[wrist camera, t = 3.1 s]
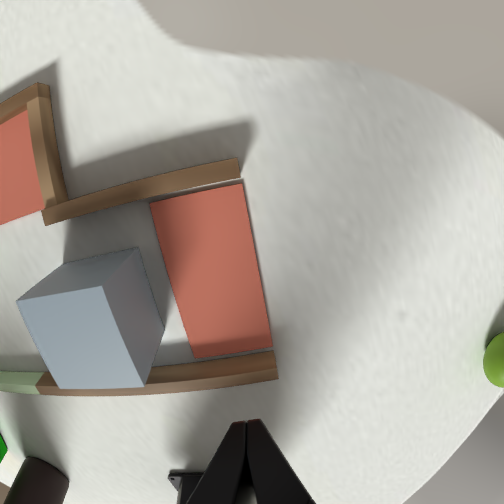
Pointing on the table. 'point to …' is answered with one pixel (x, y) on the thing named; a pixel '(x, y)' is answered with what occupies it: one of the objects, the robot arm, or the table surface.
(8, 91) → the table surface
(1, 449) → the puzzle cube
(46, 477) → the wine bottle
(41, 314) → the slate block
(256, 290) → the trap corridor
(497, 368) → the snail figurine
